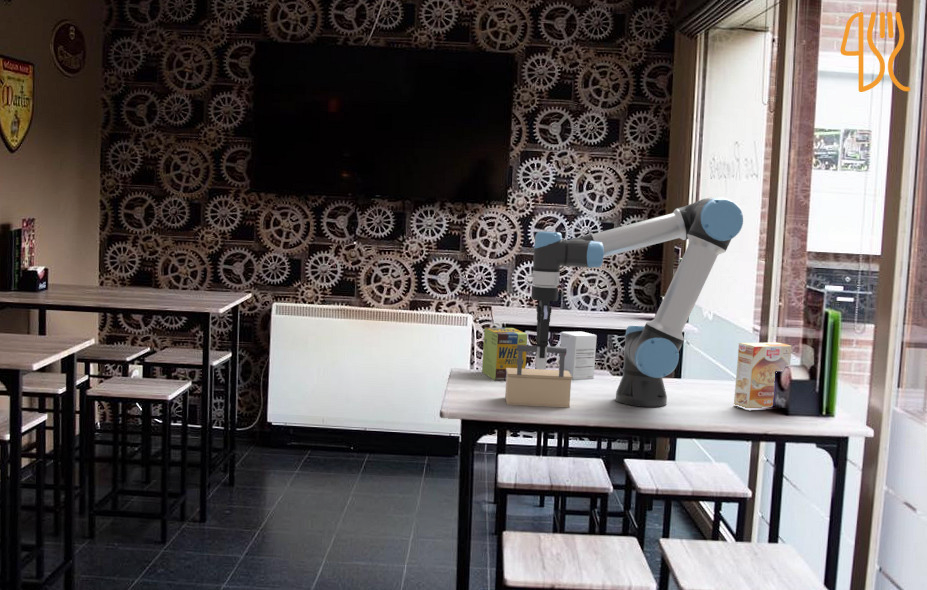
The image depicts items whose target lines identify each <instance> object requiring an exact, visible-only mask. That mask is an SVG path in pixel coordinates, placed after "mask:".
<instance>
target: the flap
mask: <svg viewBox="0 0 927 590" xmlns="http://www.w3.org/2000/svg"><path fill="white" fill-rule="evenodd" d="M517 351H518V364H517V368H506V372H507V376H508V377H528V378H548V379H569V380H571V381H572V380H573V379H572V376H571V374H570V373H569V371H564V359H565V354H566V351H567V348H566V347H560V346H551V345H550V346H549V345H548V346H547V354H559V360H560V364H559V363H558V369H555V370H554V369H546V370H545V369H536V368H525V369H522V355H523V352H526V353H536V352H537V346H536V345H528V344H527V345H517Z"/></svg>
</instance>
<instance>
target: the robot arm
mask: <svg viewBox="0 0 927 590" xmlns="http://www.w3.org/2000/svg"><path fill="white" fill-rule="evenodd" d="M743 224H744V215H743V212H742V209H741V207H740V206H739V204H737V203H735V202H734V201H733V200H731V199H729V198H725V197H722V196H720V197H706V198H702V199H700V200H697V201H695V202H693V203H689V204H688V205H685V206H681V207H677V208H675V209H674V210H673V212H670V213H668V214H665V215H660V216H657V217H652V218H649V219H645V220H642V221H638V222H633V223H630V224H626V225H622V226H618V227H614V228H611V229H606V230H603V231H600V232H599V231H598V232H595V233H592V234H589V235H584V236H581V237H573V238H570V239H563V235H562V233H561V232H557V231H538V232H536V234H535V239H534V245H533V264H532V266H533V267H532V273H530V277H531V278H532V285H533V286H532V287H531V296H530V297H531V299H532V300H534V301H538V302H539V304H538V305H536V321H537V322H536V338H535V341H536V344H535V346H537V352H535V369H541V370H547V356H548V355H547V354H548V353H547V346H549V333H550V323H551V316H552V309H553V308H552V307H551V306H550V302H556V301H558V300H559V288H558V286H560V273H561V272H560V268H561V267H575V268H589V269H591V268H593V269H594V268H596V269H597V268H601V267H602V265H603V263H604V258H608V257H610V256H614V255H618V254H622V253H627V252H629V251H630V252H631V251H633V250H637V249H638V250H639V249H641V248H645V247H646V248H647V247H649V246H653V245H654V246H655V245H656V244H661V243H665V242H668V241H672V240H677V239H680V240H682V241H686V240H688V242H689V243H688V245H687V248H686V249H685V252H684V254H683V256H682V258H681V260H680V263H679V265H678V267H677V269H676V271H675V272H674V274H673V277H672V280H671V282H670V284H669V286H668V288H667V290H666V292H665V294H664V297H663V299H662V301H661V304H660V305H659V307H658V310H657V311H656V314H655V315H654V316H655V317H654V318H653V319H652V320H650V321H647V322H646V323H645V324H644V325H629V326H627V327H626V329H625V334H624V338H625V339H624V340H625V342H624V354H623V355H624V357H623V371H622V376H621V378H620V379H621V380H620V382H619V385H618V386H617V389H616V392H615V401H616V402H618V403H621V404H624V405H628V406H635V407H644V408H645V407H647V408H657V407H663V406H666V405H667V401H668V400H667V399H668V395H667V391H666V387H665V384H664V379H663V378H664V377H666V376H669V375H670V374H672V373H673V372H674V371H675V370H676V368H677V366H678V364H679V359H680V353H679V352H680V350H681V348H682V345H683V343H684V341H685V338H684V336H683V330H684V328H685V326H686V324H687V322H688V319H689V318H690V316H691V313H692V311H693V309H694V307H695V305H696V302H697V301H698V299H699V296H700V294H701V292H702V290H703V288H704V286H705V283H706V281H707V279H708V277H709V275H710V272H711V271H712V269H713V267H714V265H715V263H716V260H717V257H718V256H719V255H722V254H724V253H726V251H727V250H728V247H729V246H730V243H731V241H732V239H734V238H736V236H737V235H738V234H739V233H740V232H741V230H742V228H743Z"/></svg>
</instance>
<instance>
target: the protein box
mask: <svg viewBox="0 0 927 590" xmlns="http://www.w3.org/2000/svg"><path fill="white" fill-rule="evenodd" d="M517 345H528V333H525V332H523V331H522V330H519V329H517V328H514V327H493V326H492V327H490V326H489V327H487V326H486V327H484V331H483V348H482V364H481V365H482V366H481V367H482V369H481V373H483V374H484V375H486V376H488V377H489V378H490V379H492V380H493V381H498V382H500V381H501V382H503V381H504V382H506V374H507V372H506V368H517V364H518V351H517ZM526 363H527V352H523V355H522V369H526V367H527V366H526Z"/></svg>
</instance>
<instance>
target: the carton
mask: <svg viewBox="0 0 927 590" xmlns="http://www.w3.org/2000/svg"><path fill="white" fill-rule="evenodd" d="M571 386H572V380H569V379H548V378H528V377H508V376H507V374H506V381H505V391H504V392H505V395H504V397H505V401H506V402H505V403H506V405H513V406H529V407H530V406H532V407H549V408H550V407H552V408H553V407H554V408H570V403H571V390H572V389H571V388H572V387H571Z"/></svg>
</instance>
